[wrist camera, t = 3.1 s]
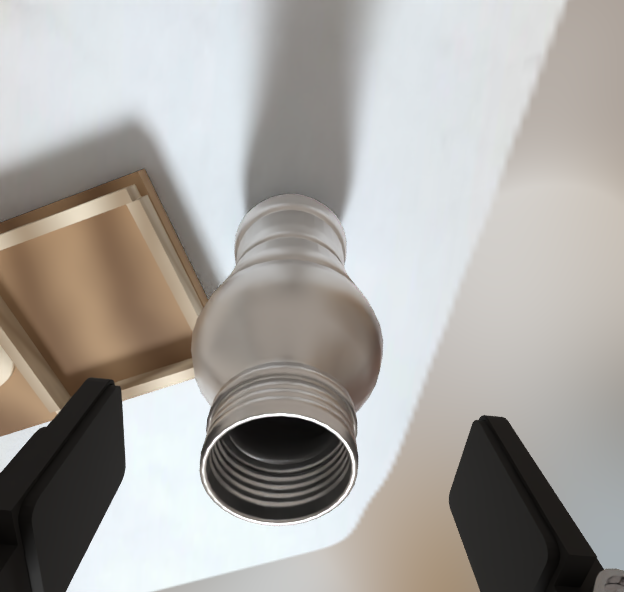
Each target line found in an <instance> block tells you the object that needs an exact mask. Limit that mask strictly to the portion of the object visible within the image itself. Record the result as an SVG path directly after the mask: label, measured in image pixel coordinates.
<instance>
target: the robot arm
mask: <svg viewBox="0 0 624 592" xmlns="http://www.w3.org/2000/svg"><path fill="white" fill-rule="evenodd" d="M124 473H125V446H124V428H123V410H122V392H121V387H120V386H116V385H115V383H114V380H112V379H103V378H93V377H90V378H88V379H87V380H86V381H85V382H84V383H83V384H82V385H81V387H80V388H79V389H78V390H77V391H76V392H75V394H74V395H73V396H72V397H71V398H70V400H69V401H68V402H67V403H66V404H65V406H64V407H63V408H62V409H61V410H60V412H59V413H58V414H57V415H56V416H55V418H54V419H53V420H52V421H51V422H50V424H49V425H48V426H47V427H42V428H40V429H39V430H38V431H37V432H36V433H34V435H33V436H32V437H31V438H30V439H29V440H28V442H27V443H26V444H25V445H24V446H23V447H22V449H21V450H20V451H19V452H18V453H17V454H16V456H15V457H14V458H13V459H12V460H11V461H10V463H9V464H8V465H7V466H6V467H5V468H4V470H3V471H2V472H1V473H0V592H66V590H67V588H68V586H69V584H70V582H71V580H72V578H73V576H74V574H75V572H76V570H77V568H78V566H79V564H80V562H81V560H82V558H83V557H84V555H85V553H86V551H87V549H88V547H89V545H90V543H91V541H92V539H93V537H94V535H95V533H96V531H97V529H98V527H99V525H100V523H101V521H102V519H103V517H104V515H105V513H106V511H107V509H108V507H109V505H110V503H111V501H112V499H113V497H114V495H115V494H116V492H117V490H118V488H119V486H120V484H121V482H122V479H123V477H124ZM449 505H450V509H451V512H452V515H453V517H454V520H455V523H456V526H457V528H458V531H459V534H460V537H461V539H462V542H463V545H464V548H465V550H466V553H467V556H468V559H469V561H470V564H471V567H472V570H473V572H474V575H475V578H476V580H477V583H478V586H479V589H480V592H624V571H623V570H619V569H605V570H604V569H603V567H602V566H601V564H600V563H599V561H598V559H597V556H596V554H595V553H594V552H593V550H592V548H591V547H590V545H589V544H588V542H587V541H586V539H585V538H584V536H583V535H582V533H581V532H580V530H579V529H578V527H577V526H576V524H575V522H574V521H573V520H572V518H571V516H570V515H569V513H568V512H567V510H566V509H565V507H564V506H563V504H562V503H561V501H560V500H559V498H558V497H557V495H556V494H555V492H554V490H553V489H552V487H551V486H550V484H549V483H548V481H547V480H546V478H545V477H544V475H543V474H542V472H541V471H540V469H539V468H538V466H537V465H536V463H535V462H534V460H533V458H532V457H531V456H530V454H529V452H528V451H527V449H526V448H525V447H524V445H523V443H522V442H521V440H520V439H519V437H518V436H517V434H516V433H515V431H514V429H513V428H512V426H511V425H510V423H509V422H508V420H506V418H503V417H496V416H485V415H484V416H481V417H480V418H479V420H475V421H474V422H473V424H472V427H471V430H470V433H469V436H468V439H467V442H466V445H465V448H464V451H463V454H462V457H461V460H460V463H459V466H458V469H457V472H456V475H455V478H454V482H453V484H452V487H451V490H450V494H449Z"/></svg>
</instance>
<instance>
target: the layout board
mask: <svg viewBox="0 0 624 592" xmlns="http://www.w3.org/2000/svg"><path fill="white" fill-rule="evenodd" d="M207 302H208V298H207V296H206V294H205V292H204V290H203V288H202V286H201V284H200V282H199V280H198V278H197V276H196V274H195V272H194V270H193V268H192V266H191V263H190V261H189V259H188V257H187V255H186V253H185V251H184V249H183V247H182V245H181V243H180V241H179V239H178V237H177V235H176V233H175V230H174V228H173V226H172V224H171V222H170V220H169V218H168V216H167V214H166V212H165V210H164V208H163V206H162V204H161V202H160V200H159V197H158V195H157V193H156V191H155V189H154V187H153V185H152V183H151V181H150V179H149V177H148V175H147V173H146V171H145V169H142V170H139V171H137V172H134V173H131V174H129V175H126V176H123V177H121V178H118V179H115V180H113V181H110V182H107V183H105V184H102V185H99V186H97V187H94V188H91V189H89V190H86V191H83V192H81V193H78V194H75V195H73V196H70V197H68V198H65V199H62V200H60V201H57V202H54V203H52V204H49V205H46V206H44V207H41V208H38V209H36V210H33V211H30V212H28V213H25V214H22V215H20V216H17V217H14V218H12V219H9V220H6V221H4V222H1V223H0V436H4V435H7V434H10V433H13V432H16V431H20V430H23V429H26V428H29V427H32V426H35V425H39V424H42V423H45V422H48V421H51V420H53V419H54V418H55V416H56V415H57V414H58V413H59V412H60V410H61V409H62V408H63V407H64V406H65V404H66V403H67V402H68V401H69V400H70V398H71V397H72V396H73V395H74V394H75V392H76V391H77V390H78V389H79V388H80V387H81V385H82V384H83V383H84V382H85V381H86V380H87V379H88V378H90V377H93V378H103V379H112V380H114V383H115V385H116V386H120V387H121V392H122V401H124V400H127V399H130V398H133V397H137V396H140V395H143V394H146V393H149V392H153V391H156V390H159V389H162V388H165V387H168V386H172V385H175V384H178V383H181V382H184V381H188V380H191V379H194V378H195V374H194V368H193V361H192V353H191V343H192V333H193V330H194V327H195V324H196V321H197V318H198V316H199V315H200V313H201V311H202V310H203V308H204V306H205V305H206V303H207Z"/></svg>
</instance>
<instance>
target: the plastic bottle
mask: <svg viewBox="0 0 624 592" xmlns="http://www.w3.org/2000/svg"><path fill="white" fill-rule="evenodd" d="M345 260H346V236H345V232H344V229H343V227H342V225H341V222H340V221H339V219H338V218H337V216H336V215H335V214H334V212H332V211H331V210H330V209H329V208H328V207H327V206H326V205H324V204H323V203H321V202H319V201H317V200H316V199H313V198H310V197H308V196H305V195H299V194H282V195H277V196H273V197H271V198H268V199H266V200H264V201H262V202H260V203H259V204H257V205H256V206H255V207H253V208H252V209H251V210H250V211H249V212H248V213H247V214H246V215H245V216H244V218H243V220H242V221H241V223H240V225H239V227H238V230H237V233H236V237H235V262H236V266H235V268H234V270H233V271H232V273H231V274H230V276H229V277H228V278H227V279H226V280H225V281H224V282H223V283H222V284H221V285H220V286H219V287H218V289H217V290H216V291H215V292H214V293H213V294H212V295H211V297H210V299H209V300H208V302H207V303H206V305H205V306H204V308H203V310H202V311H201V313H200V315H199V316H198V318H197V321H196V324H195V327H194V330H193V333H192V343H191V353H192V361H193V368H194V374H195V379H196V382H197V384H198V387H199V389H200V391H201V393H202V395H203V396H204V398H205V399H206V401H207V402H208V403H209V405H210V406H211V409H210V412H209V415H208V418H207V427H206V432H207V435H206V438H205V442H204V445H203V448H202V451H201V458H200V476H201V481H202V484H203V486H204V488H205V490H206V492H207V494H208V495H209V496H210V498H211V499H212V500H213V501H214V502H215V503H216V504H217V505H218V506H219V507H221V508H222V509H223V510H224V511H226V512H228V513H230V514H231V515H233V516H235V517H237V518H240V519H243V520H245V521H248V522H252V523H257V524H261V525H272V526H283V525H294V524H299V523H305V522H308V521H311V520H314V519H316V518H319V517H321V516H323V515H325V514H327V513H329V512H330V511H332V510H333V509H334V508H336V507H337V506H338V505H340V504H341V503H342V502H343V501H344V499H345V498H346V497H347V496H348V495H349V493H350V492H351V490H352V488H353V486H354V484H355V481H356V477H357V469H358V452H357V445H356V436H357V418H356V412H357V411H358V410H359V409H360V408H361V407H362V405H363V404H364V403H365V402H366V401H367V399H368V398H369V396H370V395H371V393H372V391H373V389H374V387H375V385H376V382H377V379H378V375H379V371H380V367H381V361H382V356H383V338H382V333H381V328H380V324H379V322H378V320H377V318H376V315H375V313H374V311H373V309H372V307H371V306H370V304H369V302H368V300H367V299H366V298H365V296H364V295H363V294H362V292H361V291H360V290H359V288H358V287H357V286H356V285H355V284H354V283H353V281H352V280H351V279H350V278H349V276H348V275H347V273H346V271H345V269H344V265H345Z"/></svg>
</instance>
